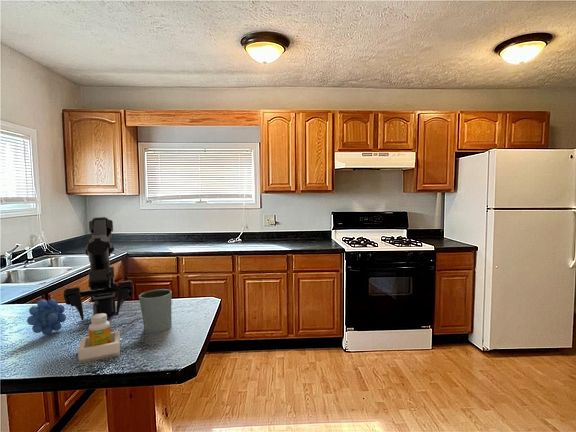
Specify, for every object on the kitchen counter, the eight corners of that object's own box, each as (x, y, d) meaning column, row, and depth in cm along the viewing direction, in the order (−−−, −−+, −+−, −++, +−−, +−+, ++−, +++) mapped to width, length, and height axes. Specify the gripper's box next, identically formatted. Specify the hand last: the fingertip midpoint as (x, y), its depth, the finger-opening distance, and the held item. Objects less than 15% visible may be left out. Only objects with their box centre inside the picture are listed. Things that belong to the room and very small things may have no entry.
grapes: (37, 344, 104) (34, 305, 103) (24, 340, 107) (21, 303, 106) (74, 329, 115) (72, 294, 114) (61, 327, 117) (59, 292, 116)
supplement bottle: (93, 355, 94) (91, 320, 93) (87, 349, 97) (85, 316, 97) (114, 348, 98) (112, 315, 97) (107, 343, 101) (105, 311, 101)
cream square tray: (82, 348, 100) (82, 337, 99) (120, 341, 104) (119, 330, 104) (78, 363, 91) (78, 350, 91) (119, 355, 95) (119, 342, 95)
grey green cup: (179, 327, 114) (177, 292, 113) (149, 337, 106) (147, 299, 106) (164, 320, 121) (162, 287, 120) (135, 329, 113) (133, 293, 113)
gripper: (62, 262, 102) (58, 309, 93) (131, 255, 110) (133, 298, 101) (67, 281, 109) (65, 327, 100) (131, 274, 117) (134, 316, 108)
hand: (100, 317), depth 102 cm, fingers open, 9 cm apart
